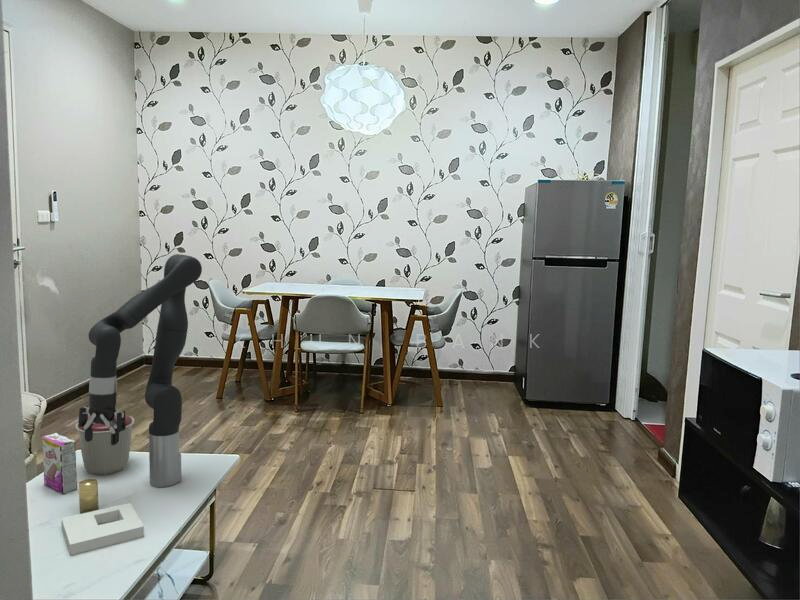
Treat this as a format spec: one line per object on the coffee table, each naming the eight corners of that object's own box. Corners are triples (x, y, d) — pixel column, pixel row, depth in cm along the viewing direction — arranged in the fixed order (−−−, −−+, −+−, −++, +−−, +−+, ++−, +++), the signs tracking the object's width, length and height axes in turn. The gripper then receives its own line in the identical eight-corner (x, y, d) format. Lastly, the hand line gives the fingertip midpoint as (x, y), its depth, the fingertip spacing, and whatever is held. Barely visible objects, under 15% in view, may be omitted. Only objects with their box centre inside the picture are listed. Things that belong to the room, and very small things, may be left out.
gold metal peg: (96, 505, 185) (96, 477, 184) (100, 512, 181) (99, 483, 180) (78, 509, 182) (77, 480, 181) (81, 516, 178) (80, 487, 177)
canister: (127, 479, 203) (126, 418, 200) (68, 480, 200) (66, 418, 197) (141, 457, 221) (139, 400, 218) (87, 458, 218) (85, 401, 215)
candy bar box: (42, 485, 196) (40, 436, 194) (58, 480, 201) (56, 432, 198) (62, 495, 191) (60, 444, 188) (78, 489, 195) (76, 440, 192)
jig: (130, 512, 182) (130, 502, 181) (143, 536, 169) (143, 526, 169) (61, 528, 171) (61, 518, 171) (70, 555, 159) (70, 544, 158)
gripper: (132, 390, 187) (130, 442, 188) (90, 385, 189) (89, 436, 191) (116, 396, 179) (114, 449, 181) (73, 390, 182) (71, 443, 183)
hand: (101, 442), depth 186 cm, fingers open, 8 cm apart
